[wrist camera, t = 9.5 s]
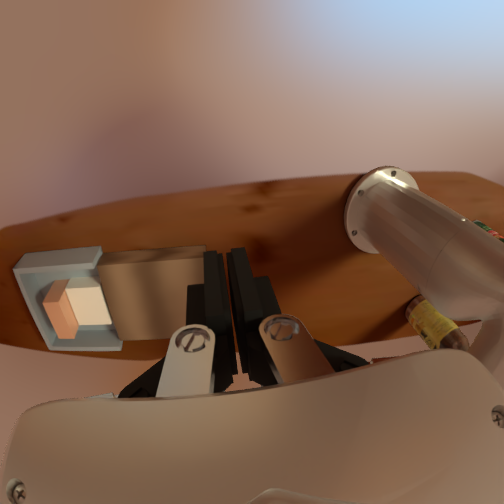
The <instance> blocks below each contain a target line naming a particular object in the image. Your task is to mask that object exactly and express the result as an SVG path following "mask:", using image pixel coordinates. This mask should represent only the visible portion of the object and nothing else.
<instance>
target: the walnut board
mask: <svg viewBox="0 0 504 504" xmlns="http://www.w3.org/2000/svg"><path fill="white" fill-rule="evenodd" d="M203 252H206V245H199V246H186V247H173V248H160V249H148V250H135V251H123V252H111V253H102V255H101V258H100V260H99V262H98V264H97V269H98V273H99V277H100V280H101V284H102V287H103V290H104V294H105V297H106V300H107V303H108V307H109V310H110V313H111V316H112V319H113V322H114V325H115V327H116V330H117V333H118V336H119V339H120V341H125V340H150V339H168V338H171V337H172V335H173V334H174V333H175V332H176V331H177V330H178V329H180V328H182V327H184V326H186V303H187V286H188V285H193V284H203V283H204V263H203Z"/></svg>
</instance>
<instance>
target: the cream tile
mask: <svg viewBox="0 0 504 504" xmlns="http://www.w3.org/2000/svg"><path fill="white" fill-rule="evenodd" d="M65 291H66V293H67V296H68V299H69V301H70V304H71V307H72V309H73V312H74V314H75V317H76V319H77V321H78V324H79V325H103V324H112V321H113V319H112V316H111V313H110V310H109V307H108V303H107V300H106V297H105V294H104V290H103V287H102V284H101V280H100V277H99V276H90V277H76V278H70V280H69V282H68V284H67V286H66V288H65Z"/></svg>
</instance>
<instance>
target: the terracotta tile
mask: <svg viewBox="0 0 504 504" xmlns="http://www.w3.org/2000/svg"><path fill="white" fill-rule="evenodd" d="M69 280H70V279H63V280H55V281H54V283H53V285H52V286H51V288H50V290H49V292H48V293H47V295H46V297H45V299H44V301H43V302H42V303H43V305H44V308H45V310H46V312H47V315H48V317H49V319H50V321H51V323H52V325H53V328H54V330H55V332H56V334H57V336H58V338H59V339H74V338H75V336H76V333H77V330H78V327H79V324H78V321H77V319H76V317H75V314H74V312H73V309H72V307H71V304H70V301H69V299H68V296H67V293H66V291H65V288H66V286H67V284H68V282H69Z"/></svg>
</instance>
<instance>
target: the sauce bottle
mask: <svg viewBox="0 0 504 504" xmlns="http://www.w3.org/2000/svg"><path fill="white" fill-rule="evenodd" d="M405 315H406V318H407V320H408V321H409V323H410V324H411V326H412V327H413V328H414V329H415V330H416V332H417V333H418V334H419V335H420V337H421V338H422V339H423V340H424V341H425V343H426V344H427V345H428V347H429V348H430V349H458V350H462V351H465V352H466V351H467V350H468V349H469V342H468V339H467V338H466V336H465V335H463V333H462V332H461V331H460V329H459V328H458V326H457V325H456V324H455V323H454V322H453V321H452V320H451V319H449V318H447V317H445V316H443V315H442V314H440V313H439V312H438V311H437V310H436V309H435V308H434V307H433V306H432V305H431V304H430V303H429V302H428V301H427V300H426V299H425V298H424V296H423V295H419V296H417V297H416V298H414V299H413V300H412V301H411V302H410V304H409V305H408V306H407V309H406V312H405Z"/></svg>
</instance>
